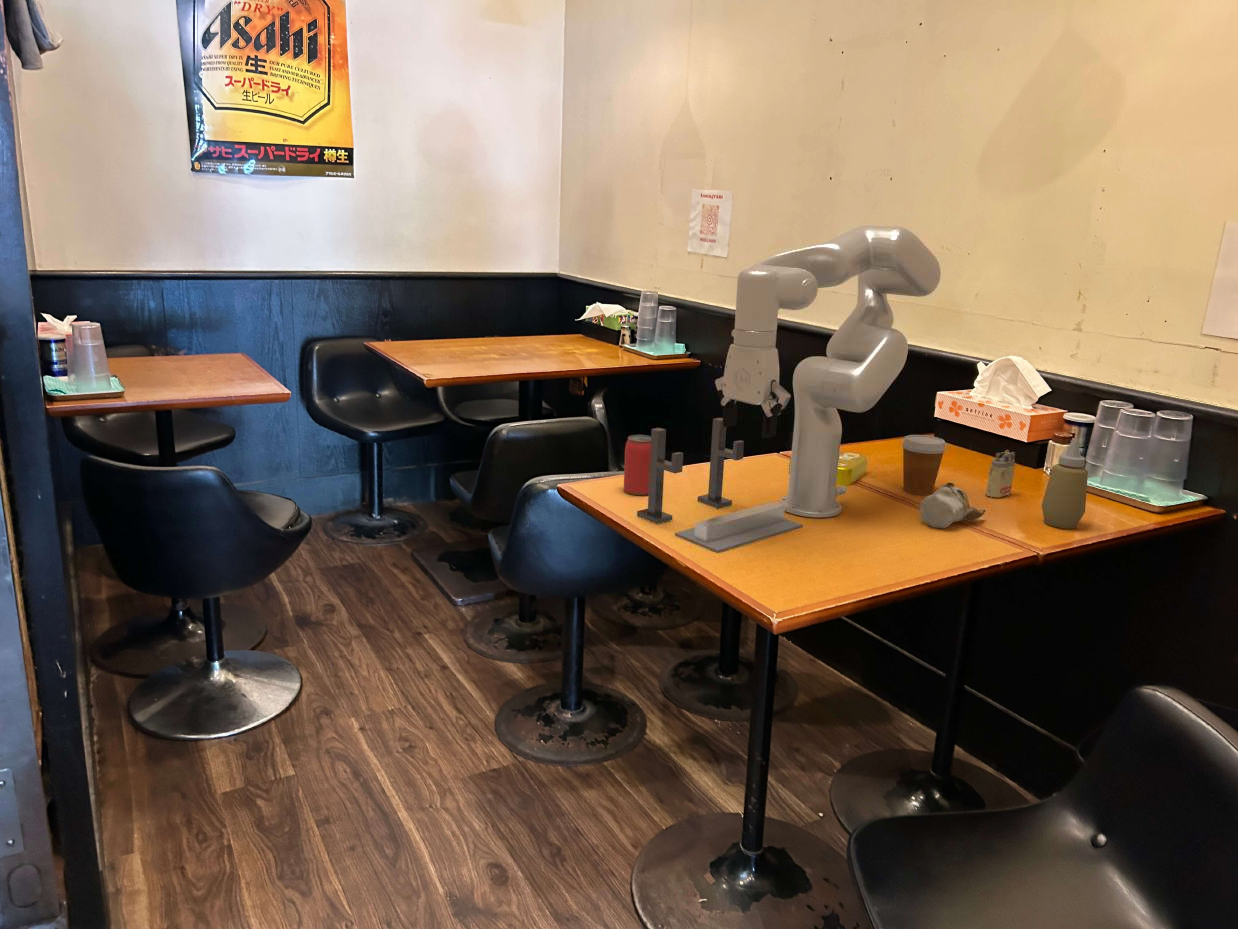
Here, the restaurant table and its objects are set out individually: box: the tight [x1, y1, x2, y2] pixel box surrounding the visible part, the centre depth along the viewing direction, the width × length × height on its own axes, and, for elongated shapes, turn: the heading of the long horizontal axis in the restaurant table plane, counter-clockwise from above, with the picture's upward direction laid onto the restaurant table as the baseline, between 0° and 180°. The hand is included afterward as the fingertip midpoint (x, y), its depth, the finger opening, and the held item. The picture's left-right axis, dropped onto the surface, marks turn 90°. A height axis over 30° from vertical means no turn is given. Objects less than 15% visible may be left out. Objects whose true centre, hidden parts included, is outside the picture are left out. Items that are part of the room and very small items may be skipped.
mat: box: [674, 517, 804, 554], centre depth 169 cm, size 24×11×1 cm, turn 130°
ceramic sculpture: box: [919, 482, 986, 529], centre depth 178 cm, size 11×9×15 cm
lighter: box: [985, 449, 1016, 498], centre depth 197 cm, size 7×4×10 cm, turn 129°
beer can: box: [623, 434, 651, 496], centre depth 190 cm, size 7×7×12 cm
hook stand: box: [636, 417, 745, 525], centre depth 177 cm, size 21×9×18 cm, turn 130°
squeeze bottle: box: [1041, 437, 1089, 529], centre depth 178 cm, size 8×8×18 cm
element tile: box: [788, 451, 868, 487], centre depth 210 cm, size 15×15×5 cm
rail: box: [694, 501, 786, 543], centre depth 169 cm, size 22×3×3 cm, turn 130°
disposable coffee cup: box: [901, 434, 947, 496], centre depth 198 cm, size 10×10×12 cm
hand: (748, 431), depth 164 cm, fingers open, 9 cm apart
